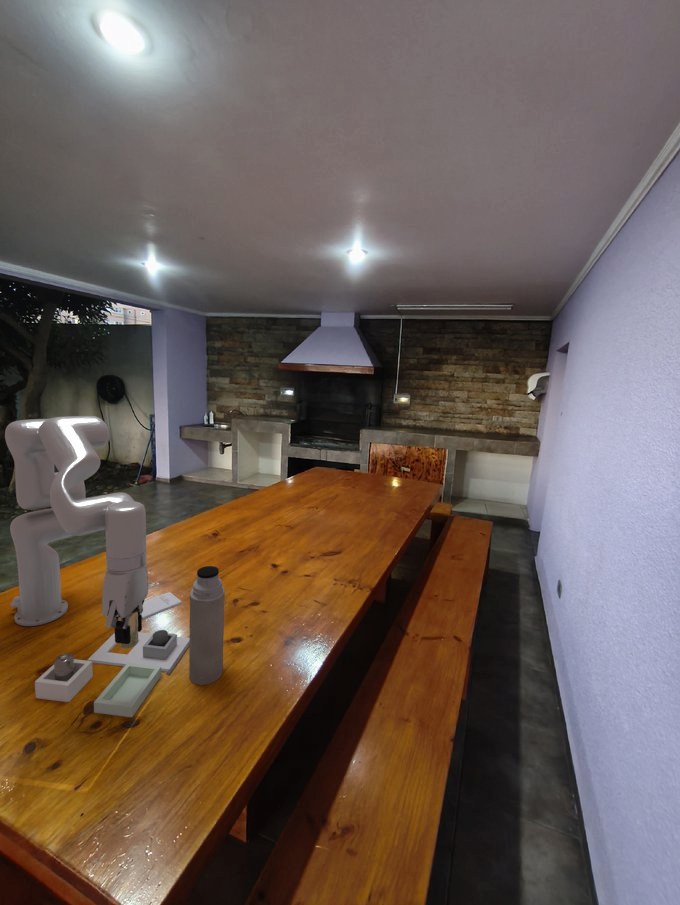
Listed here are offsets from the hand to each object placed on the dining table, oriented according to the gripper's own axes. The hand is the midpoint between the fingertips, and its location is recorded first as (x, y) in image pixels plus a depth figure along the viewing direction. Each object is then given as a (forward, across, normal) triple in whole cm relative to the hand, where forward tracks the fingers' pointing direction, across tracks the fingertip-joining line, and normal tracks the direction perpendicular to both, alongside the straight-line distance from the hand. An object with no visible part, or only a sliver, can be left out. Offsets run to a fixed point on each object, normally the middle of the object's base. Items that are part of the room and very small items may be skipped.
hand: (128, 635), depth 87 cm
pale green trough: (+16, 0, 0) cm, 16 cm away
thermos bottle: (+16, -10, +14) cm, 23 cm away
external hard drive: (+16, -34, -13) cm, 40 cm away
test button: (+13, -14, 0) cm, 19 cm away
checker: (+15, -14, -5) cm, 21 cm away
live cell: (+2, 0, 0) cm, 2 cm away
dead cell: (+15, 0, -15) cm, 21 cm away
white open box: (+15, 0, -15) cm, 22 cm away
